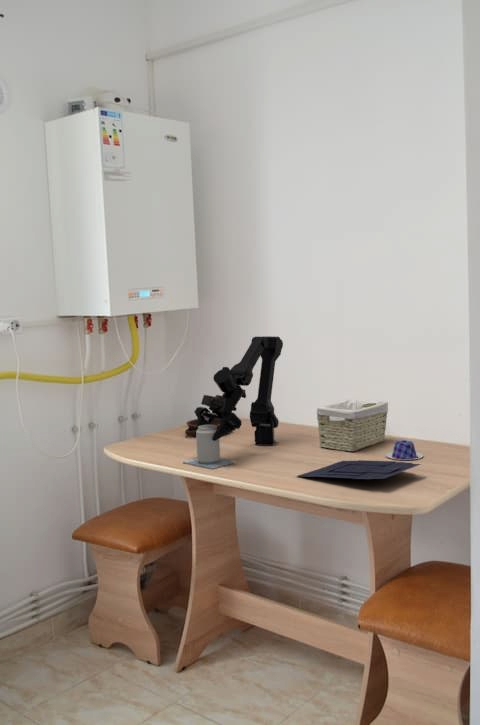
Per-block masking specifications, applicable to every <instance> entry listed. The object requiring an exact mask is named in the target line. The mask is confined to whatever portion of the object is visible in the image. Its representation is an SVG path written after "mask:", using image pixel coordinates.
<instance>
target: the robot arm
mask: <svg viewBox="0 0 480 725" xmlns="http://www.w3.org/2000/svg"><path fill="white" fill-rule="evenodd" d="M283 342H284V341H283V340H282V338H280V336H274V335H273V336H270V335H269V336H268V335H267V336H253V337H252V339H251V343H250V345H249V346H248V348H247V350H246V351H245V353H244V355H243V356H242V358H241V360H240V362H238V363H236V364H234V365H233V366H232V367H231V368H229V366H222V368H221V369H220V370H217V372H216V373H214V375H213V381H214V382H215V384H216V385H217V387H218V388H219V391H221V392H222V395H219V394H216V395H215V396H213V395H208V394H203V397H202V399H201V401H200V404H201V405H202V406H198V407H196V409H195V410H194V411H193V412H194V414H195V417H197V418H196V419H198V423H197V428H196V431H197V430H198V426H201V425H211V424H210V423H211V422H213V420H214V419H215V420H220V425H219V427H218V429H217V430H216V432H215V434H214V436H213V438H212V440H213V441H216V440H217V439H219V440H220V439H221V438H222V437H224V436H226V435H228V434H229V433H231V432H233V431H236V430H239V429H240V428H241V427H242V420H241V419H240V418H239V416H238V415H236V413H235V412H236V411H237V404H238V403H239V401H240V400H241V398H243V399H246V398H247V394H246V389H243V386H244V387H245V386H246V387H248V386H249V385H250V384H251V383H252V379H253V377H254V373H253V370H254V367H255V366H256V365H257V362H258V360H259V359H260V357H261V365H260V367H261V368H260V376H259V382H258V390H257V398H256V400H255V401H253V402H251V403H250V411H249V420H250V424H251V428H255V430H254V444H255V446H274V444H275V443H276V440H275V429H277V428H278V427H279V424H280V423H279V421H280V420H279V419H278V417H277V415H276V414H275V407H274V405H273V402H272V393H273V392H272V391H273V384H274V383H273V382H274V374H275V368H276V367H275V366H276V361H278V359H279V357H280V356H281V354H282V349H283V346H284V343H283ZM241 386H242V387H241ZM203 406H206V407H203ZM207 407H208V408H207ZM196 431H195V436H194V437H196Z"/></svg>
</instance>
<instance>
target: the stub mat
mask: <svg viewBox="0 0 480 725" xmlns="http://www.w3.org/2000/svg"><path fill="white" fill-rule="evenodd" d="M235 463H236V462H235V461H232V460H226V459H222V458H220V460H219V461H218V462H217V463H213V464H202V463H200V462H199V461H198V460H197V457H196V458H192V459H190V460H184V461H183V462H182V464H185V465H190V466H194V467H195V466H196V467H199V468H203V469H204V468H205V469H209V470H216V469H219V468H223V467H227V466H229V465H233V464H235Z"/></svg>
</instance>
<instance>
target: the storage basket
mask: <svg viewBox="0 0 480 725" xmlns="http://www.w3.org/2000/svg"><path fill="white" fill-rule="evenodd" d="M388 411H389V403H388V402H387V401H386V400H385V401H384V400H382V401H381V400H372V399H359V398H352V399H345V400H341V401H340V400H339V401H336V402H333V403H327V404H323V405H320V406H318V407H317V408H316V415H317V416H316V420H317V424H318V427H317V428H318V429H317V430H318V436H319V438H318V439H319V446H320V447H321V448H325V449H331V450H337V451H343V452H356V451H358V450H361V449H365V448H366V447H371V446H374V445H376V444H379V443H381V442H384V441H386V440H385V438H386V431H387V430H386V429H387V418H388Z"/></svg>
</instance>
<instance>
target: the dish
mask: <svg viewBox="0 0 480 725" xmlns="http://www.w3.org/2000/svg"><path fill="white" fill-rule="evenodd" d="M197 423H198V418H195V419H192V420H188V421H186V425H187V427H188V428H187V429H185V431H184V433H185V436H189V437H190V436H191V437H192V436H194V437H196V436H195V431H196V428H197ZM210 424H211V425H216V426H217V429H218V427H219V425H220V420H215V419H214V420H213V422H211V423H210Z"/></svg>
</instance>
